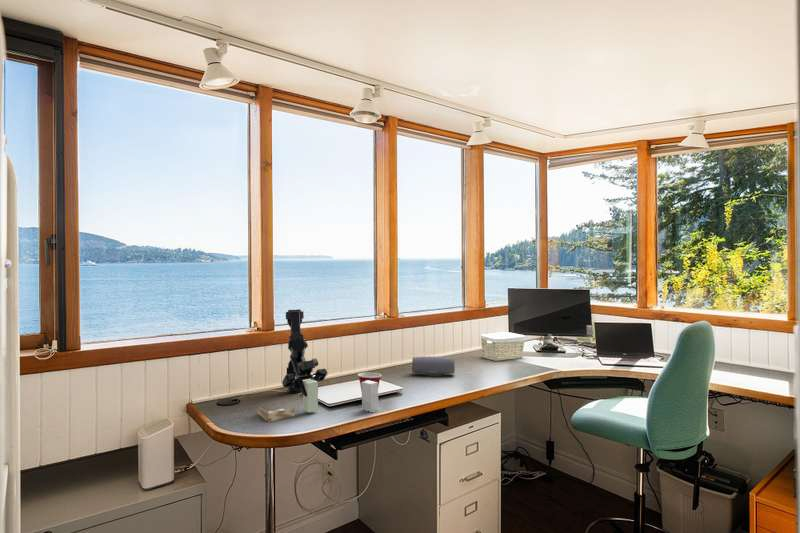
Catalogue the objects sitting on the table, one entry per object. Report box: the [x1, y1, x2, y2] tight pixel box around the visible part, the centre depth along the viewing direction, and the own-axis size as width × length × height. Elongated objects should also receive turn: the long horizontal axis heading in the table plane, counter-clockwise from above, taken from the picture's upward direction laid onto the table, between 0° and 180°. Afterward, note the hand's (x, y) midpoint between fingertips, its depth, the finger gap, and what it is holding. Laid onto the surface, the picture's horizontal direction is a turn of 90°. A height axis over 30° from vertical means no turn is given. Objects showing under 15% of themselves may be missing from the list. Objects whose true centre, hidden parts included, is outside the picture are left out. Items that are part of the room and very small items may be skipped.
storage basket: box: [480, 332, 526, 362], centre depth 306 cm, size 24×16×15 cm
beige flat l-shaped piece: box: [257, 406, 295, 422], centre depth 198 cm, size 11×11×3 cm
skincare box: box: [360, 380, 380, 413], centre depth 204 cm, size 6×4×12 cm
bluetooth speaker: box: [411, 356, 456, 377], centre depth 264 cm, size 23×9×10 cm, turn 84°
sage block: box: [302, 379, 319, 413], centre depth 201 cm, size 4×4×12 cm
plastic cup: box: [357, 372, 382, 392], centre depth 218 cm, size 11×11×12 cm
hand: (311, 395), depth 200 cm, fingers closed on sage block, 4 cm apart
